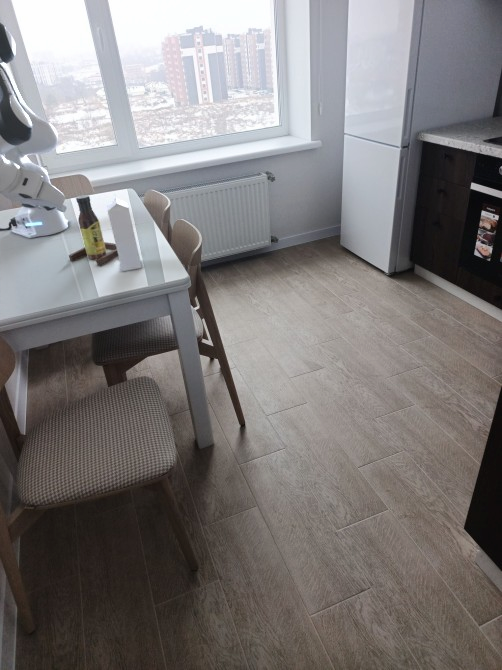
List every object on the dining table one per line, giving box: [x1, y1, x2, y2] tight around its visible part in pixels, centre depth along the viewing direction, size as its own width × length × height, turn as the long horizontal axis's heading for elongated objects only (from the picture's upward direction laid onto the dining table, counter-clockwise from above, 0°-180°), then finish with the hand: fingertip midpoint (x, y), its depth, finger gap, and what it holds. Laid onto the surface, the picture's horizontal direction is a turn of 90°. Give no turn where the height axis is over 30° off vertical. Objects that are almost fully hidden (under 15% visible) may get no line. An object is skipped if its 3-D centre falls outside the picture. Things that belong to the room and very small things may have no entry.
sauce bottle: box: [75, 194, 107, 261], centre depth 152 cm, size 7×6×20 cm
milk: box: [106, 195, 142, 272], centre depth 143 cm, size 6×6×22 cm
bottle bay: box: [68, 241, 119, 267], centre depth 157 cm, size 13×13×2 cm
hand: (52, 208), depth 139 cm, fingers open, 8 cm apart
